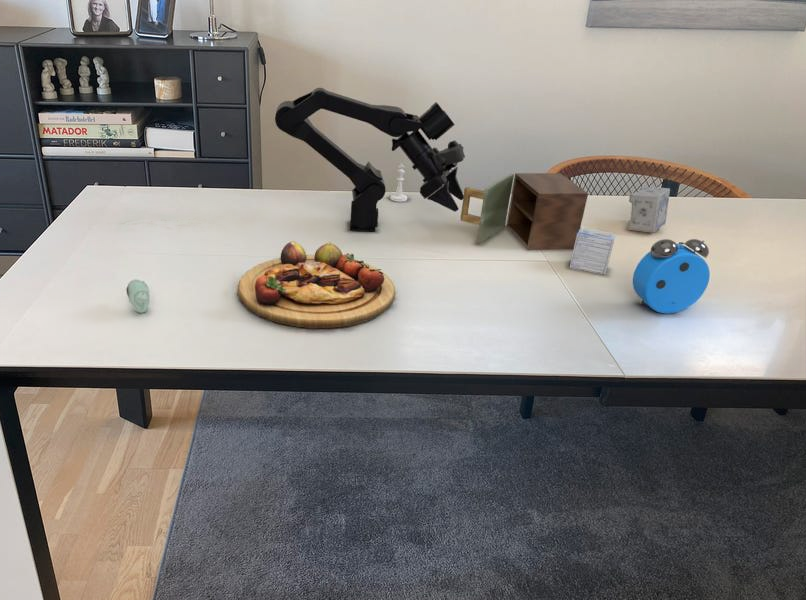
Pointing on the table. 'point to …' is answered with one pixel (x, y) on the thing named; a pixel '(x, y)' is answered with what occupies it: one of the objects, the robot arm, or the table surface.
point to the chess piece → (399, 187)
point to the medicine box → (592, 250)
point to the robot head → (138, 295)
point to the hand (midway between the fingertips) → (460, 204)
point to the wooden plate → (316, 288)
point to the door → (489, 207)
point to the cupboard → (546, 211)
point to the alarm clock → (672, 275)
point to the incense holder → (648, 209)
